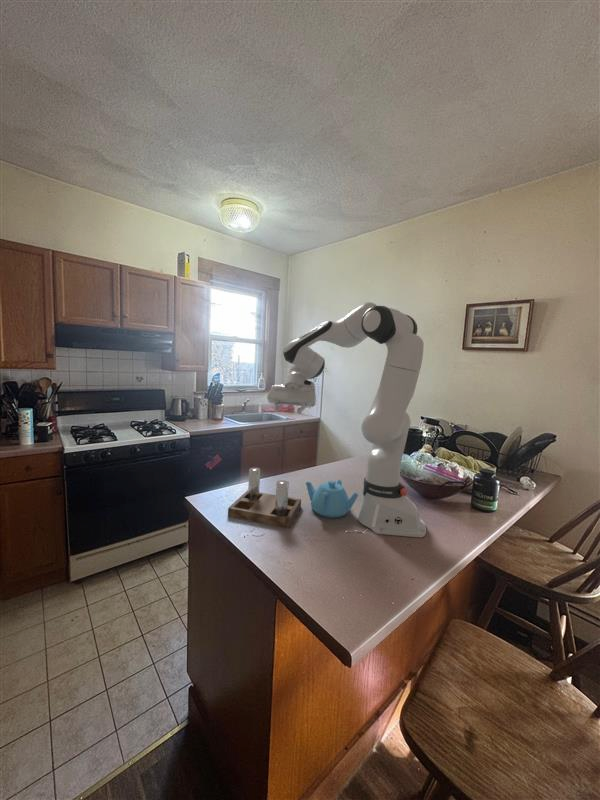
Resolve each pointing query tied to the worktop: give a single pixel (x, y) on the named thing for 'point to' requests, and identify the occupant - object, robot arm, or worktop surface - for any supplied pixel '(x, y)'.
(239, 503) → the socket board
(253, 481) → the pin
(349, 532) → the worktop surface
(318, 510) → the teapot
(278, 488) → the pin
